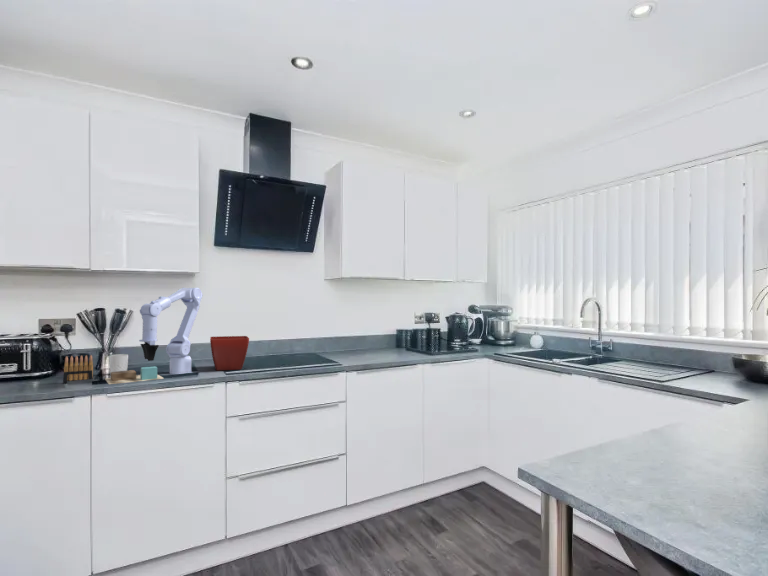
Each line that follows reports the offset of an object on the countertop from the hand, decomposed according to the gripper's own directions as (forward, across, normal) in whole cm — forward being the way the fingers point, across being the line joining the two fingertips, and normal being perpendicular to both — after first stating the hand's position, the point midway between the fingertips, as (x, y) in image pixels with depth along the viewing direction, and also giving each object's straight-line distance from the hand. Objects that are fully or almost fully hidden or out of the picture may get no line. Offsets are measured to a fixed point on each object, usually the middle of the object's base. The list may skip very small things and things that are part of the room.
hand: (149, 359), depth 186 cm
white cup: (+10, -24, -9) cm, 27 cm away
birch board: (+10, -4, -5) cm, 12 cm away
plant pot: (+10, -12, +40) cm, 43 cm away
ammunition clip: (+10, -16, -25) cm, 31 cm away
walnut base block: (+8, -7, -9) cm, 14 cm away
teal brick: (+8, 0, 0) cm, 8 cm away
